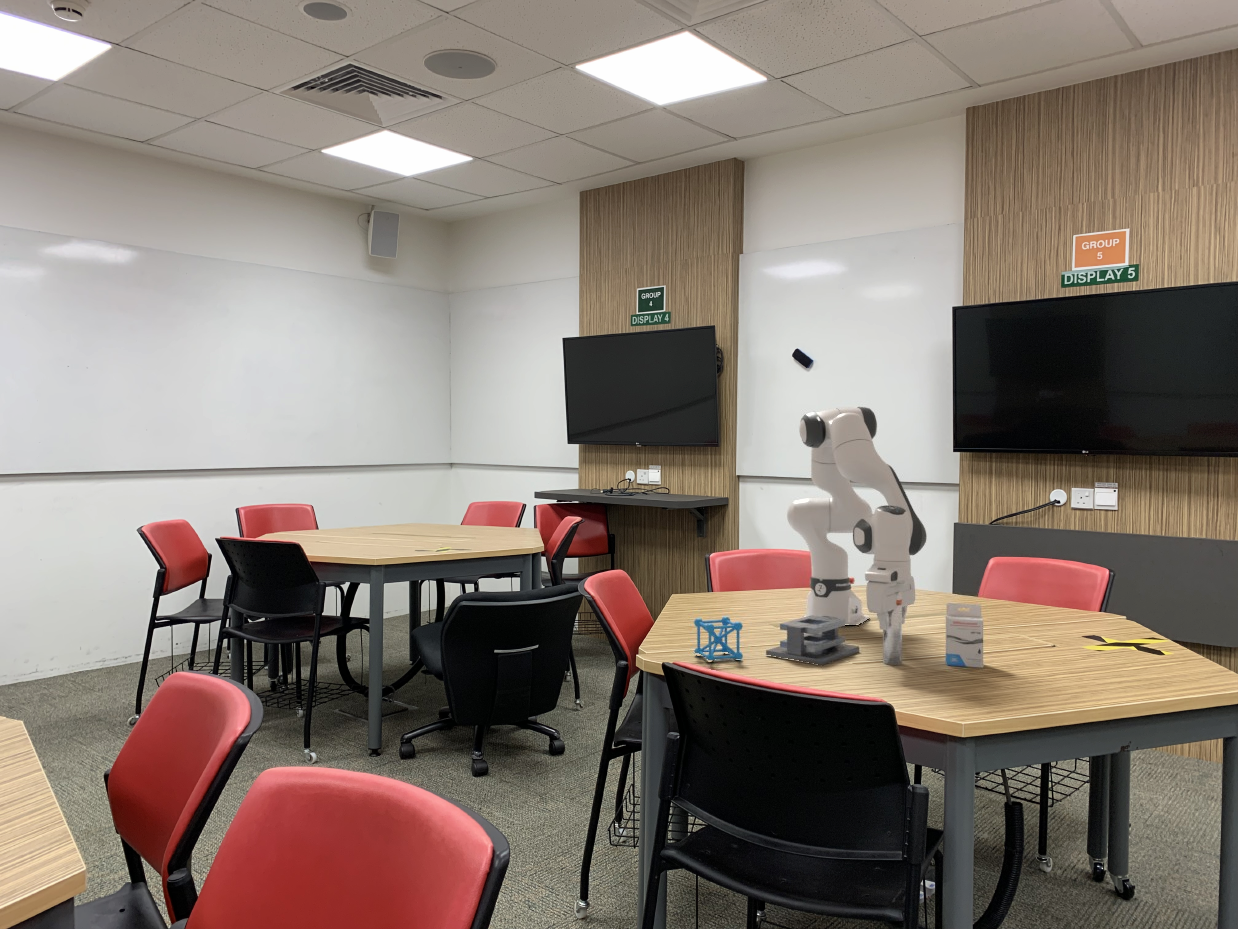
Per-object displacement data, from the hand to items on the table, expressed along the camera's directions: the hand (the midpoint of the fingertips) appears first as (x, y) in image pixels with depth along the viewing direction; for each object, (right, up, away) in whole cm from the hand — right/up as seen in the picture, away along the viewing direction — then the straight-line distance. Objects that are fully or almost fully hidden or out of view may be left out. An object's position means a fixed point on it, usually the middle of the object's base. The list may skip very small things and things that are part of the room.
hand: (892, 626), depth 214 cm
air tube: (0, -9, 0) cm, 9 cm away
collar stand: (-17, -9, +11) cm, 22 cm away
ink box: (+17, -9, -2) cm, 20 cm away
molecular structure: (-43, -10, +7) cm, 44 cm away
